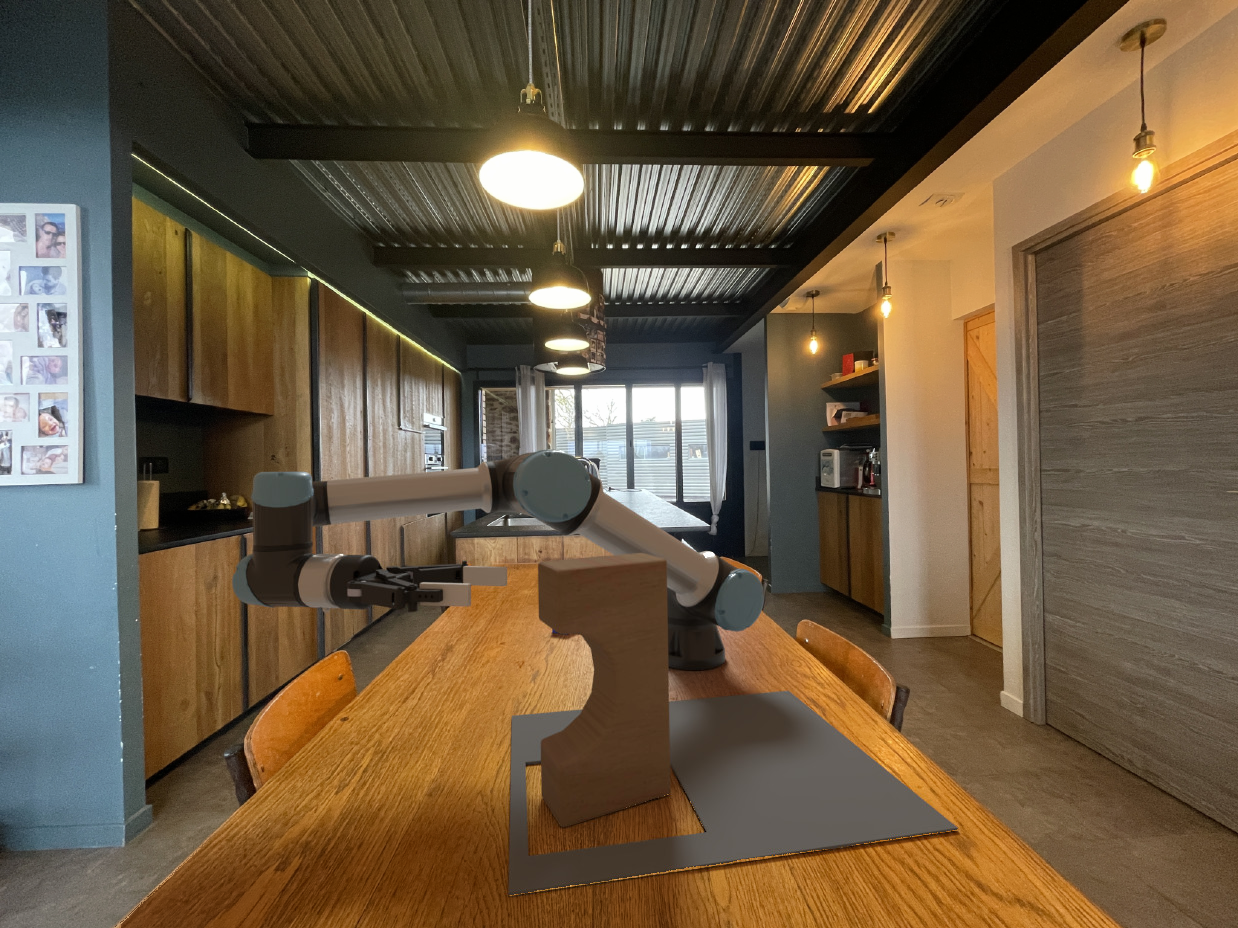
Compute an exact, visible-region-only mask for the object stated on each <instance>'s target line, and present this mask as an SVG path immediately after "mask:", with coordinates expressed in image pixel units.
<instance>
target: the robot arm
mask: <svg viewBox="0 0 1238 928" xmlns="http://www.w3.org/2000/svg"><path fill="white" fill-rule="evenodd" d="M602 482H603V481H602V480H601V479H600V478H598V476H597V477H596V476H595V475H594V474H592V473H591V472H589V470H587V468H586V466H585V465H584V464H583V463H582V461H581V460H579V458H577V457H576V456H575V455H573V454H570V453H569V452H566V451H564V450H560V449H550V448H549V449H546V448H545V449H541V450H538V451H533V452H526V453H521V454H519V455H515V456H511V457H507V458H503V459H498V460H490V461H482V462H481V463H480V464H479V465H478V466H477V467H473V468H470V467H469V468H463V469H462V468H459V469H447V470H436V471H434V470H433V471H424V472H411V473H410V472H409V473H401V474H399V473H398V474H390V475H389V474H387V475H378V476H375V475H374V476H366V477H352V478H342V479H330V480H329V479H328V480H317V481H313V476H312V474H311V473H309V472H307V471H262V472H261V471H260V472H258V473H256V474H255V475H254V476H253V481H252V483H253V484H252V493H251V494H250V497H251V498H250V499H251V500H252V537H253V539H252V540H253V541H252V542H253V545H252V550H251V551H252V553H251V554H250V553H249V554H248V555H246V556H244V557H243V558H242V559H241V560H240V561H239V562H238V563H237V565H236V566H235V568H236V570H235V572H234V574H233V575H232V577H231V578H232V579H231V586H232V589H233V593H234V595H235V596H236V597H237V598H238V600H239V601H241V603H244V604H247V605H253V606H260V607H261V606H262V607H266V608H273V609H274V608H322V612H323V613H327V612H329V611H330V610H331V609H342V610H366V609H369V608H370V607H372V606H379V607H384V608H390V609H393V610H394V609H395V610H399V611H401V610H402V609H405V608H406V606H407V612H408V613H409V612H410V613H414V612H418V608H419V605H420V606H433V607H434V606H437V607H438V606H440V607H465V608H466V607H470V606H472V586H480V587H484V586H486V587H487V586H488V587H506V586H508V566H487V565H484V566H482V565H469V564H468V561H467V560H461V563H454V564H452V563H450V564H429V565H407V564H405V565H402V566H397V565H391V566H386V567H385V569H384V568H383V567H382V565H381V563H380V561H379V560H378V559H377V558H376V556H374V555H370V554H345V553H313V550H314V549H313V548H314V539H313V537H314V534H313V533H314V532H313V530H314V529H313V528H315V527H317V528H318V527H324V526H325V527H326V526H329V525H337V524H338V525H339V524H340V525H341V524H346V523H347V524H349V523H358V522H366V521H367V522H368V521H369V522H370V521H375V520H376V521H377V520H384V519H385V520H387V519H394V518H402V517H403V518H405V517H412V516H413V517H414V516H423V515H432V514H433V515H434V514H440V513H441V514H442V513H449V512H450V513H451V512H459V511H468V510H469V511H470V510H477V509H478V510H480V509H481V510H482V511H484V512H485V513H486V514H491V513H501V512H503V513H506V512H507V513H516V514H521V515H525V516H530V517H532V518H534V519H536V520H538V521H539V522H540V523H543V524H544V525H546V526H548V527H549V528H551V529H553V530H555V531H556V532H557V533H560V534H561V535H563V536H565V537H569V536H574V535H576V534H577V535H580V536H581V537H583V538H585V539H587V540H589V541H590V542H591V543H594V544H595V545H597V546H598V547H600V548H601V549H603V550H605V551H606V552H608V553H610V554H611V555H623V554H634V553H645V554H648V555H652V556H656V557H660V558H664V559H666V560H667V611H668V668H669V669H675V670H681V671H682V670H683V671H703V670H711V669H714V668H717V667H719V666H722V665H723V664H724V663H725V661H726V650H725V649H726V648H725V646H724V643H723V640H722V637H721V634H720V631H719V628H718V627H720V628H721V629H723V630H724V631H731V632H736V633H737V632H743V631H744V630H746V629H748V628H750V627H751V626H753V625H754V623H756V621H758V619H759V617H760V615H761V614H762V610H763V607H764V603H765V595H764V587H763V584H762V581H761V580H760V579H759V577H758V576H757V575H756V574H755V573H753V572H751V571H750V570H748V569H744V568H739V567H736V566H735V565H733V564H730V563H729V562H728V561H726V560H725V559H723V557H722V558H721V557H720V556H718V555H717V554H715V553H714V552H712V551H710V550H709V551H708V550H705V551H701V552H697V551H696V550H694V549H693V548H691V547H690V546H688V545H687V544H685V543H684V542H682V541H681V540H679V539H677V538H676V537H674V536H673V535H671V534H669V533H668V532H666V531H665V530H664V529H662V528H660V527H659V526H657V525H656V524H655V523H652V522H651V521H649V520H648V519H646V518H645V517H643V516H641V515H640V514H639V513H637V512H635V511H634V510H632V509H631V508H629V507H627V506H626V505H625V504H623V503H622V502H619V500H617V499H615V498H614V497H612V496H611V495H609V494H607V493H605V492H604V487H603V483H602Z"/></svg>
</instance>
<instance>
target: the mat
mask: <svg viewBox="0 0 1238 928" xmlns="http://www.w3.org/2000/svg"><path fill="white" fill-rule="evenodd" d="M582 709H583V708H582ZM582 709H572V710H562V711H561V710H560V711H549V712H538V713H527V714H517V715H515V714H513V715H511V735H510V736H511V742H510V743H511V744H510V745H511V749H510V750H511V751H510V791H509V792H510V795H509V796H510V797H509V800H510V801H509V803H510V805H509V808H510V809H509V810H510V811H509V847H508V848H509V852H508V853H509V854H508V855H509V857H508V858H509V859H508V861H509V862H508V896H509V895H514V894H521V893H528V892H534V891H537V890H545V889H550V888H558V887H566V886H570V885H579V884H590V883H593V882H601V881H609V880H612V879H619V878H627V877H632V876H639V875H645V874H651V873H657V872H659V873H660V872H666V871H669V870H670V871H671V870H676V869H684V868H686V867H688V868H689V867H693V866H694V867H696V866H706V865H707V866H709V865H716V864H720V863H721V864H723V863H729V862H733V861H737V860H741V859H749V858H755V857H756V858H757V857H765V856H772V855H773V856H775V855H782V854H783V855H784V854H787V853H788V854H789V853H790V854H791V853H800V852H807V851H811V850H812V851H813V850H814V851H815V850H823V849H824V850H825V849H833V850H836V849H835V848H839V847H840V849H842V848H841V847H847V846H852V845H853V846H854V845H856V844H864V843H869V842H870V843H871V842H875V841H880V840H888V839H889V840H890V839H892V840H893V839H896V838H901V837H902V838H903V837H910V836H911V837H912V836H915V835H923V834H929V833H931V834H932V833H937V832H938V833H940V832H946V831H950V830H951V831H952V830H957V829H958V830H959V827H958V826H956V824H954V823H953V822H951V821H950V820H949V819H948V818H946V816H945V815H943V814H941V813H940V812H939V811H938V810H936V809H935V808H934V807H933V806H932V805H930V804H929V803H928V802H927V801H926V800H925V799H923V798H922V797H921V796H920V795H918V793H916V792H915V791H913V790H912V789H910V788H909V787H908V786H907V785H906V784H905V783H903V782H902V781H901V780H900V779H899V778H897V777H896V776H895V775H893V773H891V772H890V771H888V770H887V769H886V768H885V767H883V766H882V764H880V763H878V761H876V760H875V759H874V758H873V757H872V756H870V755H869V754H868V753H867V752H865V751H864V750H863V749H861V748H860V747H859V746H858V745H857V744H855V743H854V742H852V740H851V739H849V738H848V737H846V736H845V735H844V734H843V733H841V732H840V731H839V730H838V729H837V728H836V727H834V726H833V725H832V724H830V723H829V722H828V721H827V720H825V719H824V718H823V717H822V716H821V715H820V714H818V713H817V712H815V711H814V710H813V709H812V708H811V707H810V706H808V704H805V702H803V701H802V700H801V699H800V698H798V697H797V695H795V694H793V693H792V692H791V691H790V690H782V691H767V692H760V693H748V694H737V695H727V696H725V695H724V696H716V697H704V698H703V697H702V698H693V699H692V698H691V699H682V700H669V728H670V768H671V769H672V771H673V773H674V775H675V777H676V779H677V778H678V779H677V781H678V780H679V781H678V782H680V783H679V784H681V785H680V787H681V786H682V787H683V788H682V787H681V788H682V790H683V789H684V790H683V792H684V791H685V792H686V794H687V796H688V798H689V800H690V801H691V803H692V805H693V807H694V809H695V811H696V813H695V815H696V814H697V815H698V817H699V819H700V821H701V823H702V825H703V827H704V829H705V831H706V832H705V831H704V832H698V833H690V834H682V835H676V836H668V837H661V838H652V839H644V840H637V841H632V842H622V843H615V844H609V845H601V846H594V847H593V846H592V847H585V848H578V849H571V850H563V851H555V852H548V853H540V854H535V855H534V854H533V855H529V836H528V835H529V834H528V832H529V831H528V805H527V804H528V802H527V800H528V799H527V776H526V773H527V771H526V769H527V768H526V766H527V765H529V766H530V765H538V764H540V765H541V740H542V739H544V738H546V737H548V736H551V735H553V734H555V733H558V732H560V731H562V730H564V729H565V728H566V727H567V726H568V725H569V724H570V723H571V722H572V721H573V720H574V719H575V718H576V717H577V716H579V715H580V713H581V711H582ZM685 792H684V793H685ZM686 794H685V795H686ZM687 796H686V797H687ZM688 798H687V799H688ZM689 800H688V801H689ZM695 811H694V812H695ZM697 815H696V816H697ZM698 817H697V818H698ZM699 819H698V820H699ZM700 821H699V822H700ZM701 823H700V824H701ZM702 825H701V826H702ZM703 827H702V828H703ZM704 829H703V830H704ZM854 847H855V846H854ZM847 848H848V847H847Z"/></svg>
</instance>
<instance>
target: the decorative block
mask: <svg viewBox="0 0 1238 928" xmlns="http://www.w3.org/2000/svg"><path fill="white" fill-rule="evenodd" d="M537 584H538V585H537V586H538V593H537V595H538V598H537V599H538V619H539V621H540V622H542V623H544V624H545V625H546V626H548V627H549V628H550V629H551V630H552V629H553V630H554V631H556V632H557V633H556V634H558V633H559V635H564V634H570V635H575V636H581V637H582V638H583V640H584V641H585V643H586V644H587V646H588V647H589V649H590V654H591V659H592V666H593V675H592V676H593V677H592V683H591V685H592V686H591V690H590V691H591V692H590V694H589V696H588V698H587V699H586V701H585V703H584V705H583V708H582V711H581V713H580V715H579V716H577V717H576V718H575V719H574V720H573V721H572V722H571V723H570V724H569V725H568V726H567V727H566V728H565V729H564V730H562V731H560V732H558V733H555V734H553V735H551V736H548V737H546V738H544V739H542V740H541V763H540V775H541V776H540V777H541V778H540V779H541V780H540V781H541V784H540V785H541V788H540V790H541V797H542V800H543V801H544V803H545V804H546V805H547V808H548V809H549V811H550V812H551V813H552V815H553V817H554V818H555V820H556V822H557V823H558V825H559V826H560V827H561V828H566V827H569V826H572V825H576V824H579V823H582V822H586V821H589V820H591V819H595V818H599V817H602V816H604V815H609V814H611V813H616V812H618V811H622V810H625V809H627V808H626V807H628V808H630V807H629V806H632V807H634V806H633V805H635V804H638V805H640V804H639V803H641V804H643V803H642V802H645V801H648V800H651V801H653V800H652V799H654V800H656V799H655V798H658V797H661V798H663V797H662V796H664V795H667V794H669V795H670V794H671V793H672V792H671V765H670V728H669V701H670V686H669V685H670V682H669V680H670V679H669V678H670V677H669V675H670V673H669V671H670V670H669V667H668V611H667V560H666V559H664V558H660V557H656V556H652V555H648V554H645V553H634V554H623V555H613V554H611V555H603V556H602V555H601V556H589V557H582V558H569V559H568V558H567V559H560V560H559V559H558V560H547V561H540V562H539V563H538V566H537ZM667 796H668V795H667ZM664 797H665V796H664ZM658 799H659V798H658ZM648 802H649V801H648ZM645 803H646V802H645ZM635 806H636V805H635ZM624 808H625V809H624ZM621 809H622V810H621Z"/></svg>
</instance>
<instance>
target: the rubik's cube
mask: <svg viewBox="0 0 1238 928" xmlns="http://www.w3.org/2000/svg"><path fill="white" fill-rule="evenodd" d="M551 632H552V633H553V634H559V633H557V632H556V631H554V630H553V629H552V628H551ZM559 635H560V634H559ZM563 635H565V636H569V635H571V634H563Z"/></svg>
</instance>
